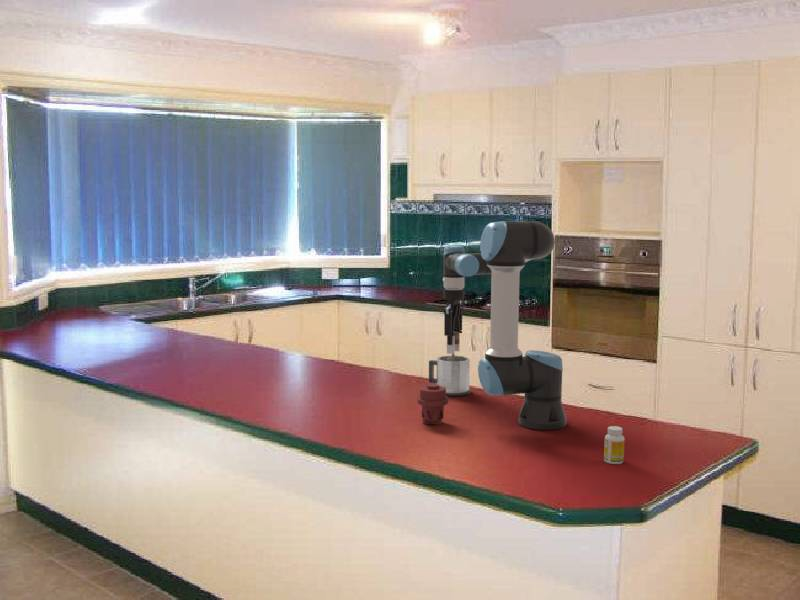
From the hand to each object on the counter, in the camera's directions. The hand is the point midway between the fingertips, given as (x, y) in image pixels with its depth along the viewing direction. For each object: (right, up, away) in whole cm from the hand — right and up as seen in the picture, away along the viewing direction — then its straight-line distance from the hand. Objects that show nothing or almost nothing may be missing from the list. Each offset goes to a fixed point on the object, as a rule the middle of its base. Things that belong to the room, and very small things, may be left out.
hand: (453, 352), depth 325 cm
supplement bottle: (+40, -26, -76) cm, 90 cm away
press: (-1, -15, +3) cm, 15 cm away
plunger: (0, -13, +2) cm, 13 cm away
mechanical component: (-9, -21, -38) cm, 44 cm away
